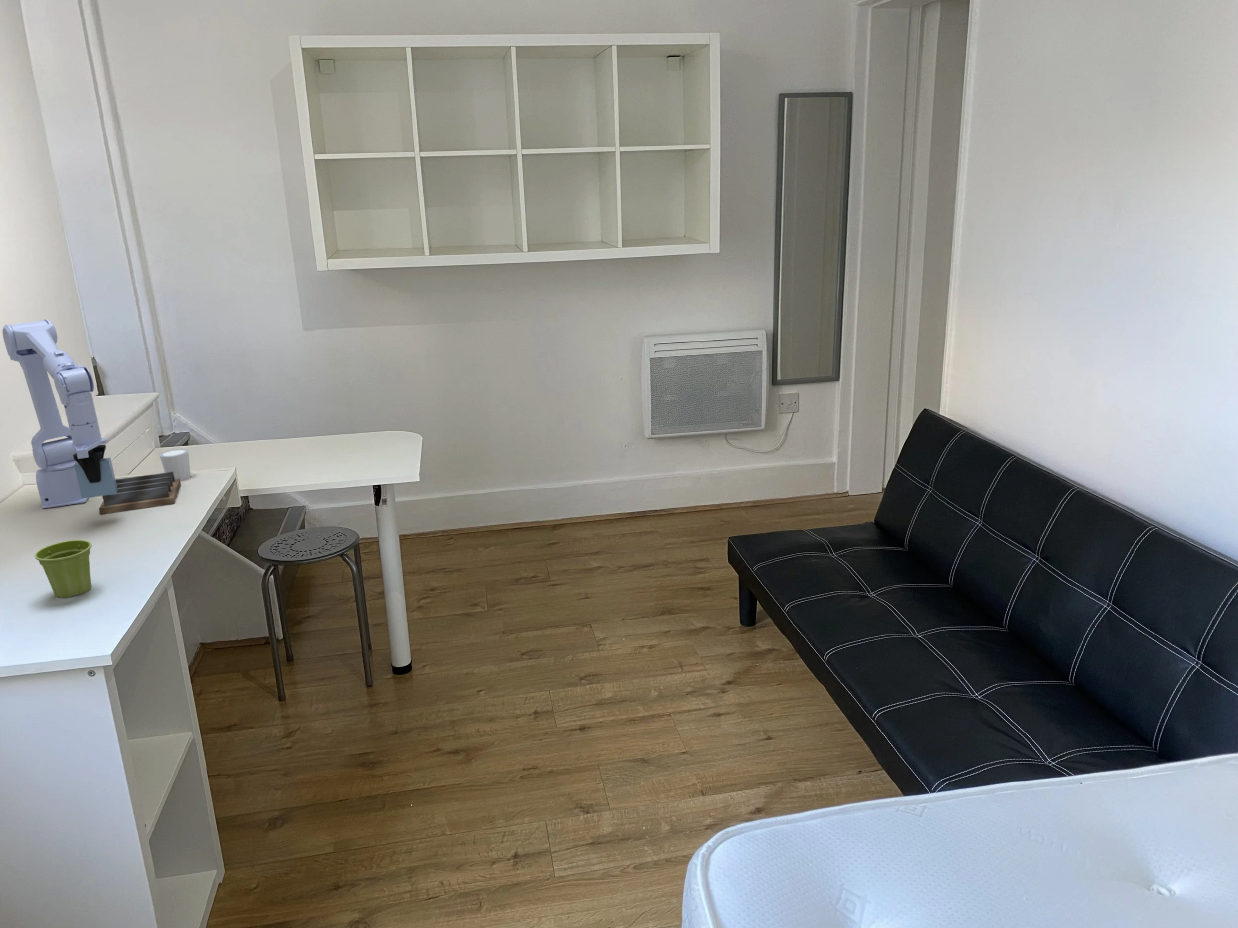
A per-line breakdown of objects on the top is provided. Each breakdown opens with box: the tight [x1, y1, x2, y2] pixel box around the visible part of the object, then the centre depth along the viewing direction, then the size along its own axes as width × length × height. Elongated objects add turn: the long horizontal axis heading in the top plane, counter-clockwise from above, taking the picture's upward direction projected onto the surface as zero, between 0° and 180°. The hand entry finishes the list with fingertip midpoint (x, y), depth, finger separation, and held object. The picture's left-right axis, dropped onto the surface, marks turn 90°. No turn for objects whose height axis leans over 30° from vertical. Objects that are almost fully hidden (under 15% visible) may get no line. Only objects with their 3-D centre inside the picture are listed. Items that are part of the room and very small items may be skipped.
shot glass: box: [159, 448, 192, 482], centre depth 243 cm, size 7×7×7 cm
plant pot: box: [34, 539, 93, 598], centre depth 177 cm, size 9×9×9 cm
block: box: [74, 457, 118, 499], centre depth 212 cm, size 7×2×8 cm, turn 109°
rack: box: [98, 472, 182, 515], centre depth 229 cm, size 16×16×4 cm
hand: (96, 480), depth 212 cm, fingers closed on block, 2 cm apart
